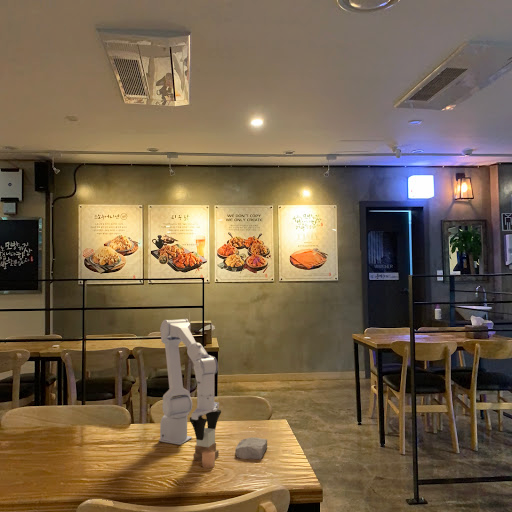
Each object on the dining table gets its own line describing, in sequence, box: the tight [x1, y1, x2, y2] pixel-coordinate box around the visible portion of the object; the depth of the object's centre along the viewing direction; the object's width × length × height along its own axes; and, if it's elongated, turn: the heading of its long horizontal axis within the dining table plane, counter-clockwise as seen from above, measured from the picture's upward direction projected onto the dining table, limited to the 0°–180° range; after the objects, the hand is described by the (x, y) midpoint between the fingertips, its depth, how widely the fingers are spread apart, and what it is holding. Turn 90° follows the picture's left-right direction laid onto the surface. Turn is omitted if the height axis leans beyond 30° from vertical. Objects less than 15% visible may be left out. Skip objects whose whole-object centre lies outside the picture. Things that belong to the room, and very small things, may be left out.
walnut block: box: [194, 442, 217, 454], centre depth 148 cm, size 5×5×2 cm
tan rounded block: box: [201, 450, 216, 469], centre depth 142 cm, size 4×4×4 cm
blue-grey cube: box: [195, 427, 216, 447], centre depth 148 cm, size 4×4×4 cm
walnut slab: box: [193, 449, 220, 462], centre depth 148 cm, size 6×6×2 cm
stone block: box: [234, 436, 268, 460], centre depth 153 cm, size 12×5×10 cm
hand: (205, 435), depth 148 cm, fingers open, 7 cm apart
